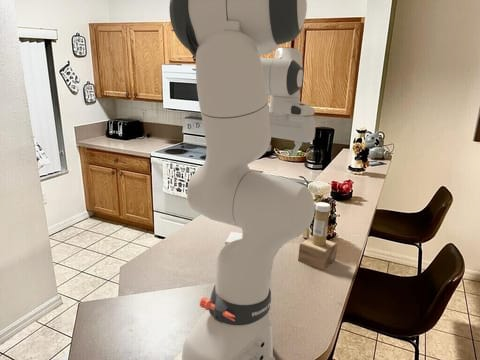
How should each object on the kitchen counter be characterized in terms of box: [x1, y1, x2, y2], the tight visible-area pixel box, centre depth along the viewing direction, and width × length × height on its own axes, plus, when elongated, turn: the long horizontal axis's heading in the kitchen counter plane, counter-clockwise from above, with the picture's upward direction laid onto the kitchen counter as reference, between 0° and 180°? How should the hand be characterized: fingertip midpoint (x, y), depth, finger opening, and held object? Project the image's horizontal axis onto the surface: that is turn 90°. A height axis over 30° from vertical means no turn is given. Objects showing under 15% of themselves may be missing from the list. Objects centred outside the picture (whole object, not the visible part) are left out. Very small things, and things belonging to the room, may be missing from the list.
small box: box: [224, 231, 243, 246], centre depth 109 cm, size 8×6×10 cm
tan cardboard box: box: [297, 235, 338, 271], centre depth 118 cm, size 9×9×6 cm
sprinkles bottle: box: [312, 201, 331, 246], centre depth 115 cm, size 5×5×14 cm
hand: (280, 153), depth 110 cm, fingers open, 8 cm apart
